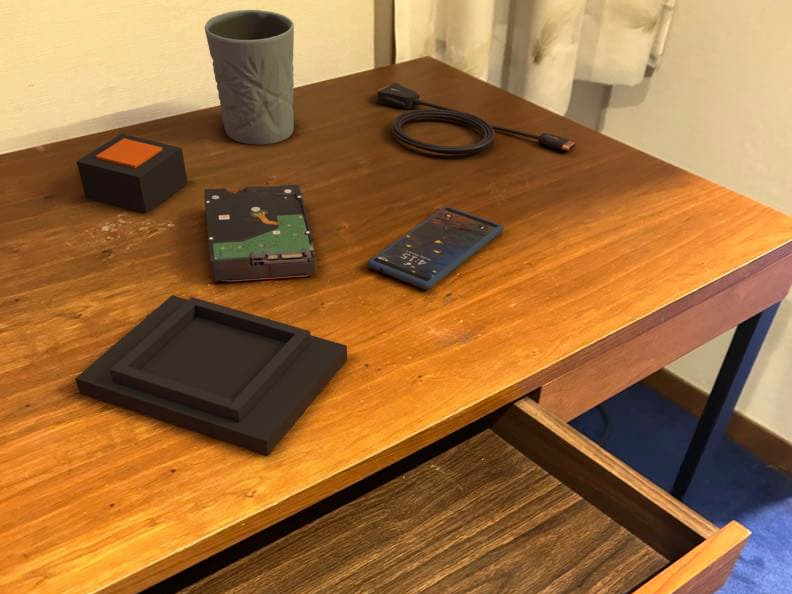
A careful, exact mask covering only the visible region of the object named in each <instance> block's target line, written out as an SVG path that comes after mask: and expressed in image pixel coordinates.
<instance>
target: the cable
mask: <svg viewBox="0 0 792 594" xmlns="http://www.w3.org/2000/svg"><path fill="white" fill-rule="evenodd" d="M376 98H377V104H380V105H385V106H390V107H395V108H398V109H403V110H409V111H405V112H402V113H401V114H399V115H397V116H396V117H395V118H394V119H393V123H392V125H391V133H392V134H393V135H394V137H395V138H396V139H398V140H399V141H400V142H402V143H404V144H406V145H408V146H410V147H413V148H415V149H419V150H423V151H426V152H431V153H435V154H443V155H470V154H474V153H479V152H481V151H484V150H486V149H488V148H489V147H490V146H491V145H492V144H493V141H494V140H495V136H496V133H495V130H496V131H501V132H505V133H510V134H514V135H518V136H522V137H526V138H528V139H529V138H530V139H534V140H537V141H538V143H540V144H541V145H544V146H545V147H549V148H551V149H555V150H558V151H567V152H570V151H571V150H573V149H574V148H575V147H576V142H574V141H570V140H569V139H568V138H566V137H561V136H559V135H557V134H556V135H555V134H551V133H547V132H546V133H545V132H542V133H541V134H540V135H537V134H532V133H529V132H524V131H521V130H516V129H512V128H508V127H505V126H498V125H493V124H490V123H489V122H487V121H486V120H485V119H483V118H482V117H479V116H476V115H475V114H471V113H468V112H464V111H460V110H457V109H453V108H449V107H446V106H442V105H438V104H434V103H431V102H427V101H422V100H421V99H420V94H418V92H417V91H415V90H413V89H410V88H408V87H405V86H403V85H401V84H400V83H397V82H393V83H392V84H390V85H386V86H384V87H382V88H380V89H378V90H377V91H376ZM417 106H424V107H428V108H420V109H415V108H416V107H417ZM418 119H437V120H438V119H439V120H446V121H451V122H456V123H460V124H462V125H466V126H471V127H473V128H475V129H476V130H478V131H479V132H480V133H481V134H482V137H483V138H482V139H480V141H478V142H476V143H472V144H469V145H468V144H467V145H458V146H457V145H456V146H451V145H450V146H449V145H438V144H433V143H428V142H424V141H421V140H418V139H416V138H413V137H412V136H409V135H408V134H406V133H405V132H404V131H403V130H402V127H403V125H404V124H406V123H408V122H410V121H413V120H418Z"/></svg>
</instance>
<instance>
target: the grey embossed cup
mask: <svg viewBox="0 0 792 594" xmlns="http://www.w3.org/2000/svg"><path fill="white" fill-rule="evenodd" d="M204 33H205V37H206V41H207V46H208V50H209V55H210V58H211V60H212V69H213V70H212V71H213V73H214V74H213V75H214V80H215V82H216V90H217V93H218V100H219V106H220V109H221V114H222V121H223V122H222V123H223V127H224V132H225V133H226V135H227V136H228V138H229V139H231V140H233V141H235V142H239V143H241V144H247V145H255V146H256V145H257V146H258V145H271V144H275V143H279V142H283V141H285V140H287V139H288V138H290V137H291V136H292V135H293V132H294V127H295V116H294V115H295V113H294V110H293V109H294V108H293V106H294V103H295V101H294V96H295V93H294V87H295V85H294V83H295V81H294V43H295V42H294V37H295V24H294V22H293V21H292V19H290V17H288V16H286V15H284V14H281V13H278V12H274V11H269V10H260V9H239V10H233V11H232V10H231V11H228V12H224V13H220V14H217V15H215V16H212V17H211V18H209V19H208V20H207V21H206V23H205V24H204Z"/></svg>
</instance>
